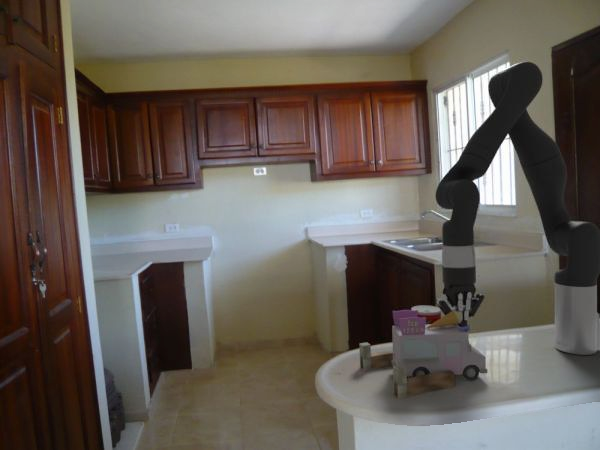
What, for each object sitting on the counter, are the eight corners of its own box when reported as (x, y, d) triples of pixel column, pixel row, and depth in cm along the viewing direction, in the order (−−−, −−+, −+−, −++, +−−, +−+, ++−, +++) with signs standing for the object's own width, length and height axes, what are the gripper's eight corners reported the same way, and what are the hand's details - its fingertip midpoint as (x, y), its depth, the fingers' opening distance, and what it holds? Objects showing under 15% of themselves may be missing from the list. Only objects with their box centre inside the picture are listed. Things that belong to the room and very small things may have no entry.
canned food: (428, 356, 113) (427, 314, 112) (405, 347, 120) (404, 308, 119) (448, 349, 117) (447, 309, 116) (425, 342, 124) (424, 303, 123)
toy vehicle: (489, 382, 96) (488, 315, 95) (400, 386, 96) (398, 319, 95) (472, 366, 105) (471, 305, 104) (391, 370, 105) (389, 308, 104)
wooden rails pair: (410, 358, 112) (409, 335, 111) (455, 386, 95) (455, 359, 94) (360, 367, 107) (359, 343, 107) (398, 398, 90) (397, 369, 90)
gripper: (471, 259, 110) (472, 327, 111) (425, 264, 106) (427, 334, 107) (492, 263, 103) (494, 335, 104) (444, 268, 99) (447, 343, 100)
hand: (460, 334), depth 105 cm, fingers closed
